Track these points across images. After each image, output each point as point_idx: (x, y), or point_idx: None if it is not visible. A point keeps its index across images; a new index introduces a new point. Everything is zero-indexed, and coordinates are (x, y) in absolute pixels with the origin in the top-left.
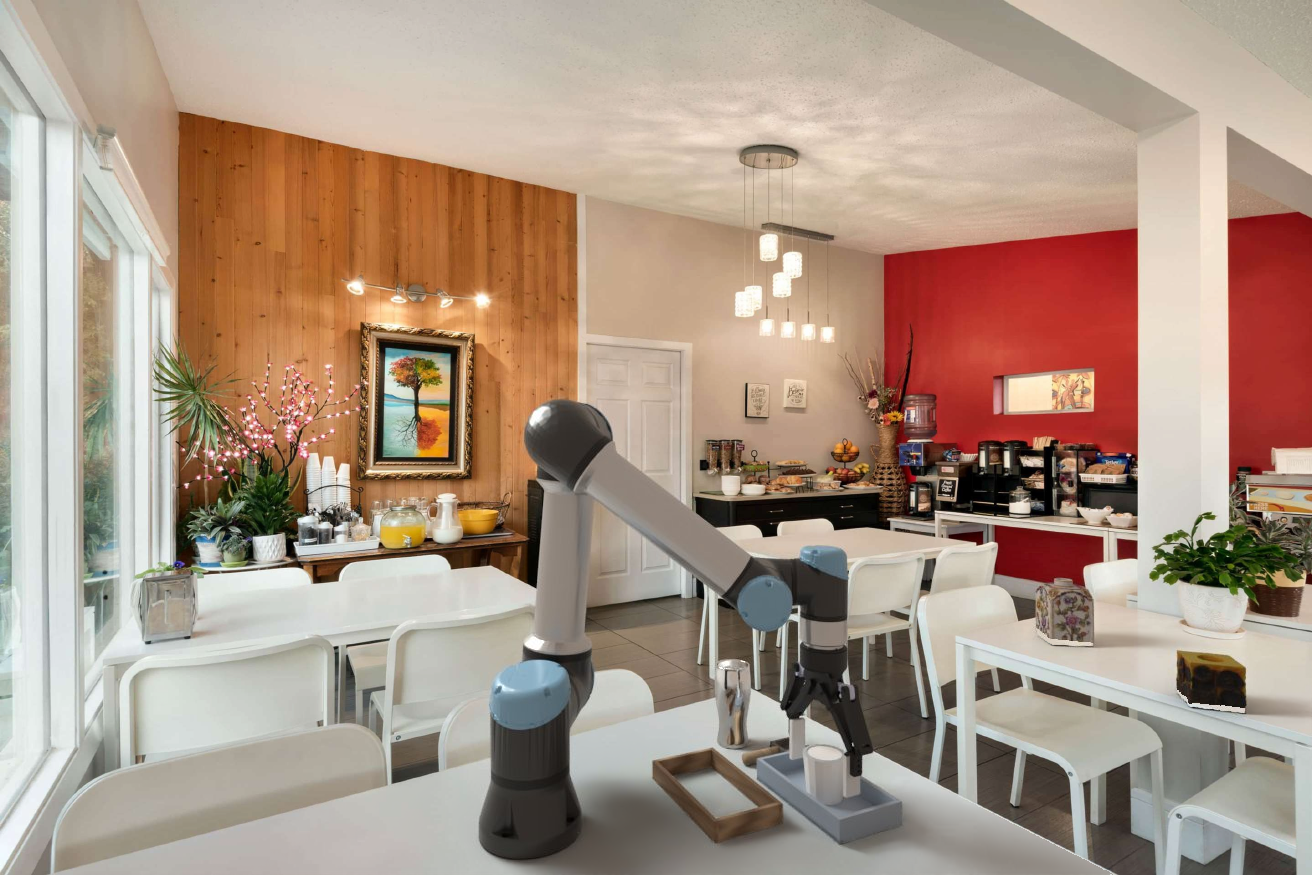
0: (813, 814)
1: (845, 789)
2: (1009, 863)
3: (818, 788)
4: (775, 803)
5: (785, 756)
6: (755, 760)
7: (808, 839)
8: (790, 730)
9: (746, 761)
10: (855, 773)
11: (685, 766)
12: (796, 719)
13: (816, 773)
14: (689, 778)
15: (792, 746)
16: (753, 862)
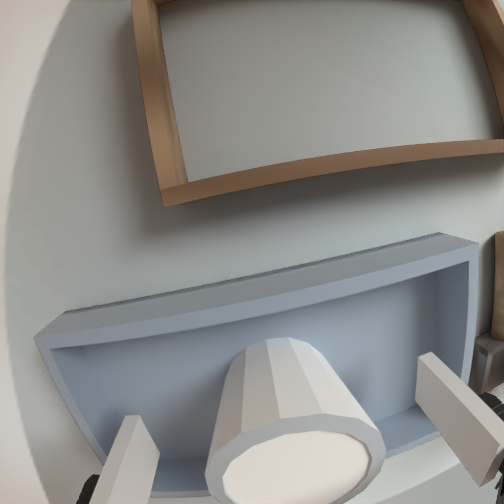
0: (151, 303)
1: (121, 431)
2: (47, 490)
3: (237, 376)
4: (170, 179)
5: (460, 344)
6: (497, 262)
7: (90, 244)
8: (484, 410)
9: (501, 235)
10: (86, 485)
11: (497, 64)
12: (498, 459)
13: (239, 403)
14: (465, 59)
15: (441, 383)
16: (45, 74)
